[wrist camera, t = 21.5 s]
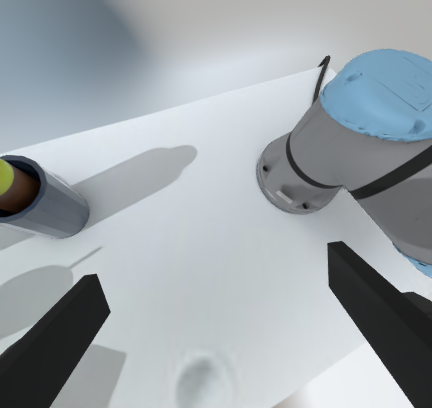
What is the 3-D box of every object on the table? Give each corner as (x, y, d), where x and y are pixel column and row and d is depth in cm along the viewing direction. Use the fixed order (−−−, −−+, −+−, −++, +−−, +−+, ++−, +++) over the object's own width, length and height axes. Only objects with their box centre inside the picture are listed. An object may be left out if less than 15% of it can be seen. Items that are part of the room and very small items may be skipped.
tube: (69, 182, 36) (18, 142, 25) (99, 215, 36) (61, 189, 24) (25, 213, 34) (-53, 185, 23) (56, 249, 33) (-8, 238, 22)
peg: (65, 194, 35) (-24, 136, 20) (83, 214, 35) (6, 170, 20) (39, 213, 34) (-77, 166, 19) (58, 233, 34) (-46, 203, 18)
